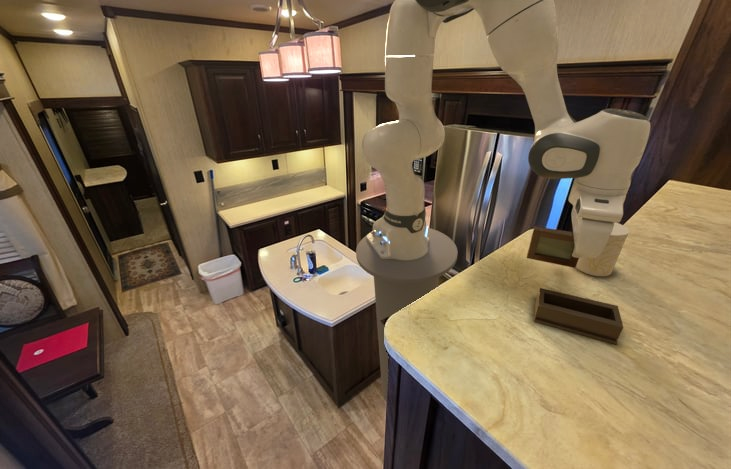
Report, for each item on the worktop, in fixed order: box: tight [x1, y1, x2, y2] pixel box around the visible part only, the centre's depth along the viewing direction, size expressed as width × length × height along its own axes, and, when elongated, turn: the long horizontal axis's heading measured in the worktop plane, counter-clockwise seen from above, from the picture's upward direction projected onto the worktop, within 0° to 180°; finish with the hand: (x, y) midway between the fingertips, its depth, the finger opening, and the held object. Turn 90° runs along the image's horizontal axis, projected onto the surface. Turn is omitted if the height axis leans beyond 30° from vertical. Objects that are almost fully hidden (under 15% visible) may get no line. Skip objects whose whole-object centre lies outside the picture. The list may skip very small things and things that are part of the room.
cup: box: [575, 222, 630, 277], centre depth 74 cm, size 8×8×12 cm
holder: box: [533, 287, 624, 345], centre depth 60 cm, size 8×14×4 cm, turn 61°
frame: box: [526, 225, 579, 269], centre depth 67 cm, size 2×10×8 cm, turn 61°
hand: (575, 252), depth 65 cm, fingers closed on frame, 2 cm apart
